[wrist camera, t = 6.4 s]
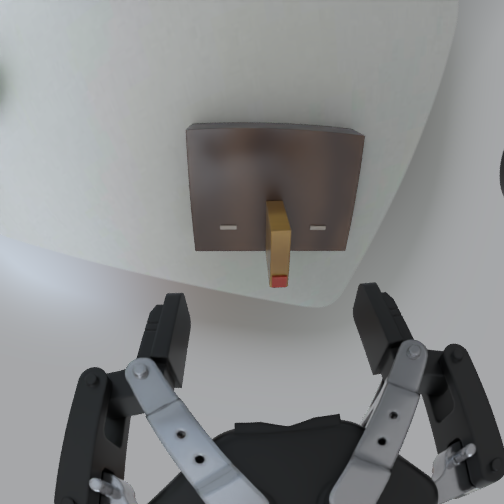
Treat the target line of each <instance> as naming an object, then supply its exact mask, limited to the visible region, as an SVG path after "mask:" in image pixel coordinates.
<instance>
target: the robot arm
mask: <svg viewBox="0 0 504 504" xmlns="http://www.w3.org/2000/svg"><path fill="white" fill-rule="evenodd" d="M353 317H354V321H355V324H356V326H357V329H358V332H359V335H360V338H361V340H362V343H363V346H364V349H365V352H366V355H367V358H368V361H369V364H370V367H371V370H372V373H373V375H376V374H381V375H382V377H383V379H382V380H381V382H380V385H379V387H378V389H377V391H376V394H375V396H374V398H373V400H372V402H371V404H370V406H369V409H368V410H367V413H366V414H365V416H364V418H363V419H362V421H361V423H360V425H358V424H356V423H353V422H349V421H345V420H341V419H340V414H336V415H330V416H322V417H315V418H312V419H309V420H306V421H304V422H301V423H298V424H295V425H292V426H282V425H275V424H269V423H263V422H255V423H235V429H233V430H229V431H227V432H224V433H222V434H220V435H218V436H216V437H215V438H213V439H211V438H210V437H209V435H208V434H207V433H206V432H205V430H204V429H203V428H202V427H201V426H200V424H199V423H198V421H197V420H196V419H195V418H194V416H193V415H192V414H191V412H190V411H189V410H188V408H187V407H186V405H185V404H184V403H183V401H182V400H181V399H180V398H179V397H178V396H177V395H176V393H175V392H174V388H182V382H183V375H184V368H185V361H186V355H187V348H188V341H189V335H190V328H191V324H190V323H191V321H190V315H189V312H188V307H187V304H186V300H185V296H184V294H183V293H168V294H166V297H165V301H164V304H163V305H156V306H155V308H154V309H153V310H152V311H151V312H150V315H149V318H148V321H147V324H146V328H145V331H144V335H143V338H142V341H141V345H140V348H139V352H138V356H137V358H136V359H135V360H133V361H132V362H130V363H129V364H128V366H127V367H126V369H124V370H121V371H117V372H112V373H107V374H106V373H105V371H104V370H102V369H101V368H97V367H93V368H89V369H87V370H85V371H84V372H83V373H82V374H81V376H80V378H79V381H78V384H77V388H76V391H75V395H74V399H73V402H72V406H71V410H70V414H69V419H68V423H67V428H66V431H65V436H64V441H63V446H62V451H61V456H60V463H59V469H58V475H57V482H56V489H55V499H54V503H55V504H137V502H136V499H135V492H134V490H133V488H132V486H131V485H130V484H128V483H127V482H126V481H124V471H125V460H126V449H127V441H128V433H129V425H130V418H131V416H132V415H138V414H142V413H145V414H146V418H147V420H148V422H149V423H150V425H151V427H152V428H153V430H154V432H155V433H156V435H157V436H158V438H159V440H160V441H161V443H162V444H163V446H164V447H165V449H166V450H167V452H168V453H169V455H170V456H171V457H172V459H173V460H174V462H175V463H176V464H177V466H178V467H179V469H180V470H181V472H180V473H179V474H178V475H177V476H176V477H175V478H174V479H173V480H172V481H171V482H170V483H169V484H168V485H167V486H166V487H165V488H164V489H163V490H162V491H160V492H159V493H158V494H157V495H156V496H155V497H154V498H153V499H152V500H151V501H150V502H149V503H148V504H442V503H444V502H447V501H449V500H451V499H457V498H460V497H462V496H465V495H467V494H470V493H472V492H474V491H477V490H479V489H481V488H483V487H486V486H488V485H490V484H492V483H494V482H496V481H498V480H499V479H501V478H502V477H503V475H504V446H503V443H502V440H501V436H500V433H499V430H498V427H497V424H496V421H495V418H494V415H493V412H492V409H491V406H490V404H489V401H488V399H487V396H486V393H485V391H484V388H483V386H482V383H481V381H480V379H479V377H478V374H477V372H476V369H475V367H474V365H473V363H472V360H471V358H470V356H469V354H468V352H467V351H466V349H465V348H464V347H462V346H461V345H458V344H450V345H448V346H447V347H446V348H445V350H444V351H434V350H427V348H426V347H425V346H424V345H423V344H422V343H421V342H419V341H417V340H414V339H413V337H412V335H411V333H410V331H409V329H408V327H407V325H406V323H405V321H404V319H403V317H402V316H401V313H400V311H399V309H398V307H397V305H396V303H395V301H394V299H393V298H392V297H390V296H389V295H388V294H387V293H386V292H384V293H381V291H380V289H379V287H378V285H377V284H376V283H364V284H360V285H359V287H358V291H357V295H356V299H355V303H354V307H353ZM420 394H422V397H423V400H424V403H425V407H426V410H427V414H428V417H429V421H430V424H431V428H432V432H433V436H434V439H435V444H436V448H437V452H438V455H437V457H436V458H435V460H434V462H433V469H432V473H433V475H432V478H430V477H429V476H428V475H427V474H425V473H424V472H422V471H421V470H420V469H418V468H417V467H415V466H414V465H413V464H411V463H410V462H409V461H407V460H406V459H404V458H403V457H402V456H400V455H399V451H400V449H401V447H402V444H403V441H404V439H405V437H406V434H407V432H408V429H409V427H410V424H411V421H412V419H413V416H414V413H415V410H416V407H417V404H418V401H419V398H420Z"/></svg>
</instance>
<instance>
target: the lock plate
mask: <svg viewBox="0 0 504 504" xmlns="http://www.w3.org/2000/svg"><path fill="white" fill-rule="evenodd" d="M364 138H365V136H364V135H362V134H360V133H358V132H357V131H355V130H353V129H347V128H338V127H328V126H317V125H303V124H286V123H248V122H237V123H200V124H192V125H191V126H190V127H189V128H187V129H186V143H187V160H188V174H189V188H190V200H191V212H192V222H193V233H194V242H195V251H266V201H283V204H284V207H285V210H286V214H287V217H288V221H289V224H290V228H291V247H290V251H345V249H346V244H347V240H348V235H349V230H350V225H351V220H352V215H353V209H354V204H355V198H356V192H357V187H358V180H359V174H360V168H361V161H362V154H363V146H364Z"/></svg>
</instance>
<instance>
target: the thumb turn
mask: <svg viewBox="0 0 504 504" xmlns="http://www.w3.org/2000/svg"><path fill="white" fill-rule="evenodd" d="M290 247H291V228H290V224H289V221H288V217H287V214H286V210H285V207H284V204H283V201H266V258H267V267H268V275H269V284H270V287H272V288H276V287H287V286H288V276H289V262H290Z"/></svg>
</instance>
